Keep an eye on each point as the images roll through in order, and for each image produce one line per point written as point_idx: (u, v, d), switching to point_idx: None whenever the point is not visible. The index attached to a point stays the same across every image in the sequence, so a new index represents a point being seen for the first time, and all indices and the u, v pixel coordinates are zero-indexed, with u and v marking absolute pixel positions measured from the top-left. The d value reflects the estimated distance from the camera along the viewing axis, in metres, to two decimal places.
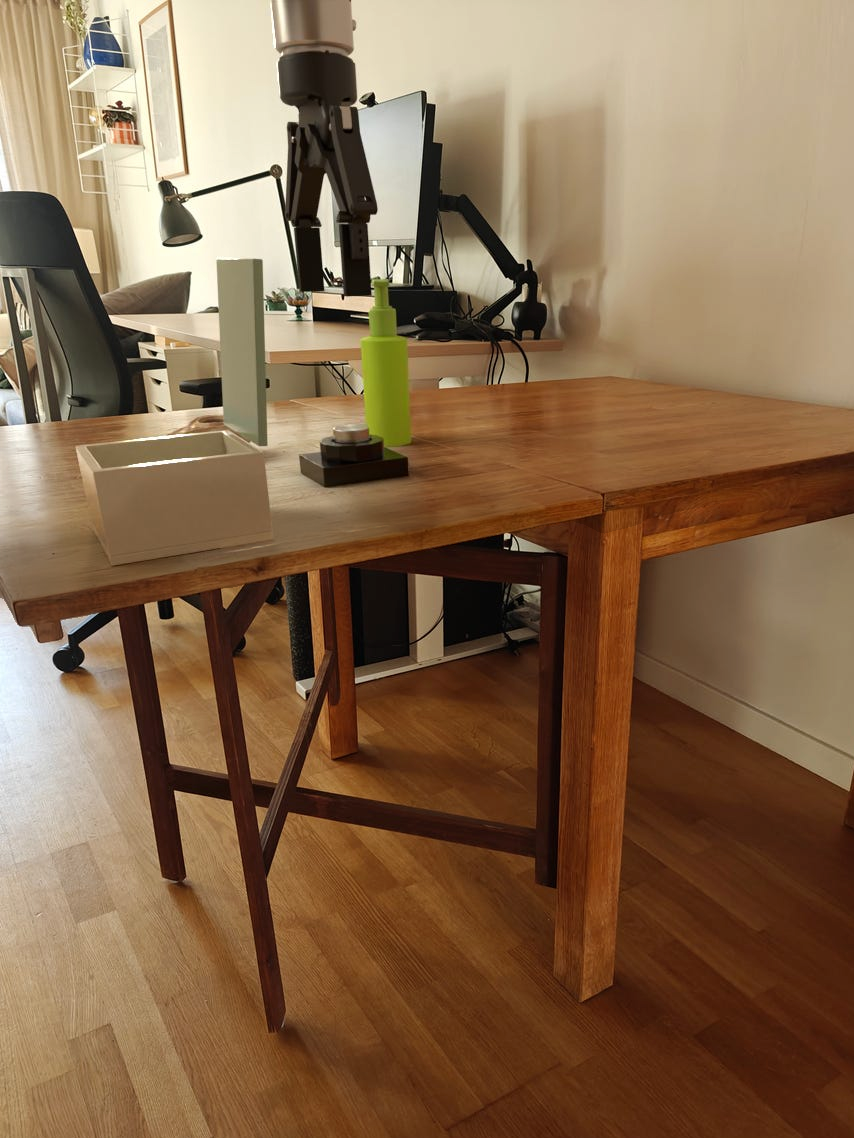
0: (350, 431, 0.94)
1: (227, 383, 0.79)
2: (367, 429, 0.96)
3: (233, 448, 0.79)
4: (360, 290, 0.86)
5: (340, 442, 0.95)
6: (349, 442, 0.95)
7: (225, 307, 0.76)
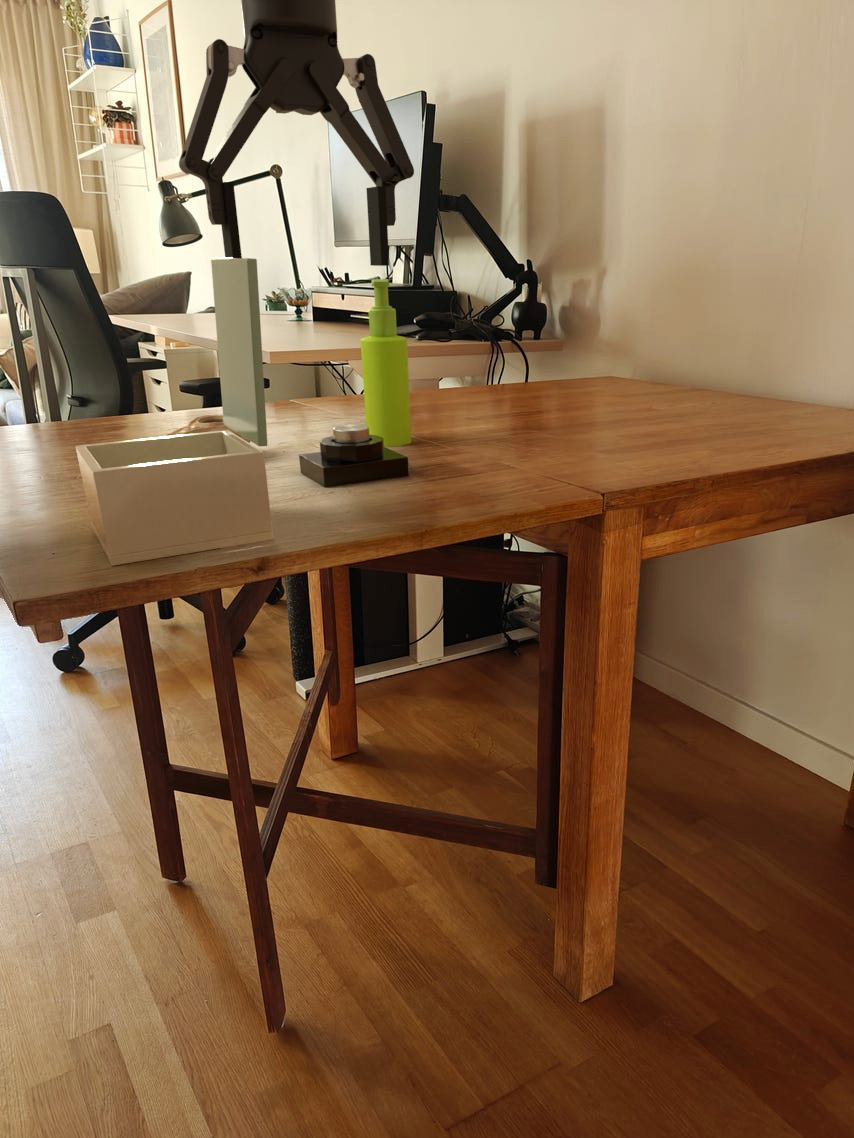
0: (350, 431, 0.94)
1: (226, 383, 0.79)
2: (367, 429, 0.96)
3: (233, 448, 0.79)
4: None
5: (340, 442, 0.95)
6: (349, 442, 0.95)
7: (221, 307, 0.76)
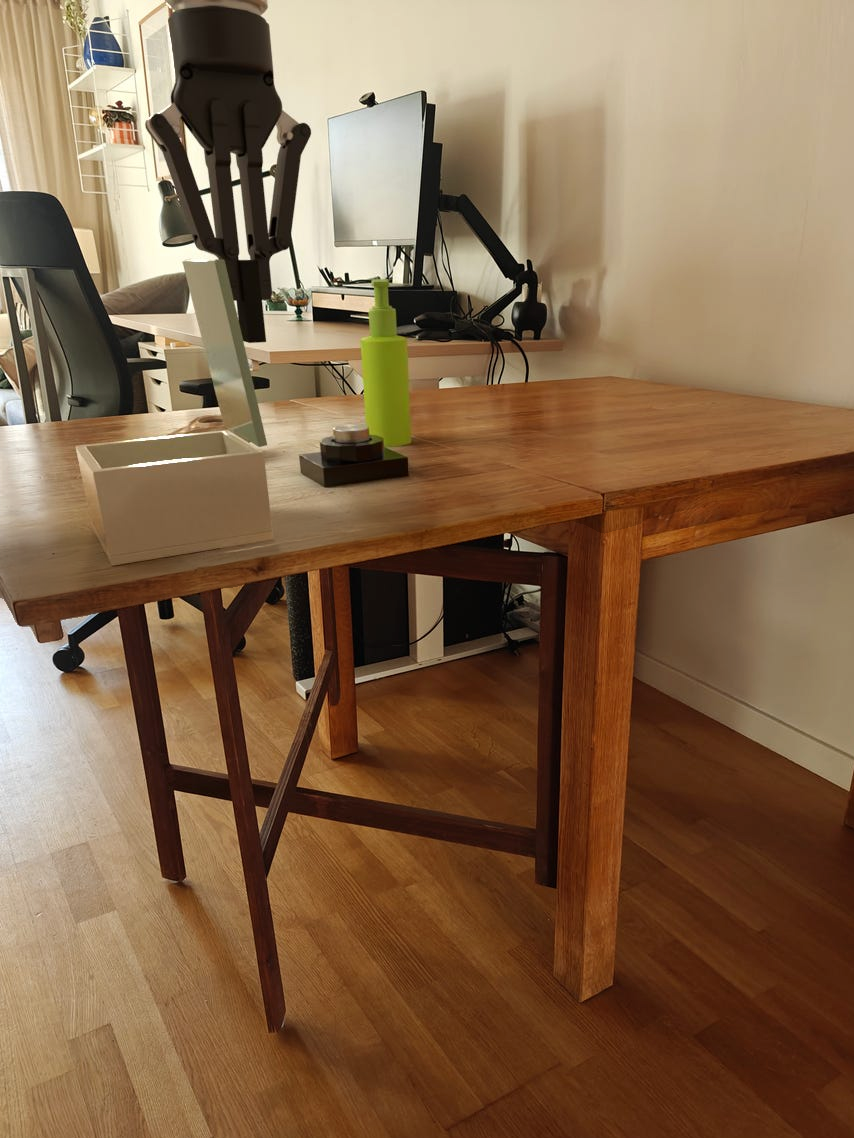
0: (350, 431, 0.94)
1: (218, 385, 0.79)
2: (367, 429, 0.96)
3: (233, 448, 0.79)
4: None
5: (340, 442, 0.95)
6: (349, 442, 0.95)
7: (200, 309, 0.75)
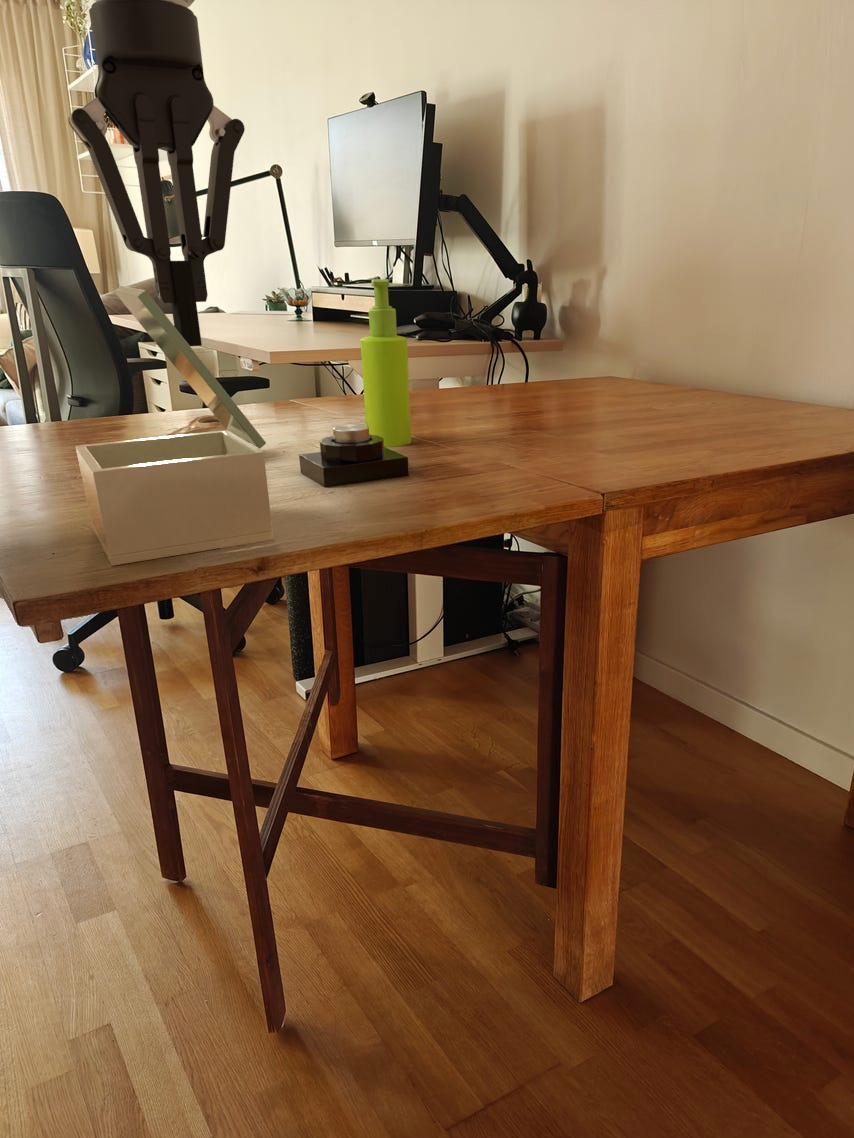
0: (350, 431, 0.94)
1: (201, 395, 0.78)
2: (367, 429, 0.96)
3: (233, 448, 0.79)
4: None
5: (340, 442, 0.95)
6: (349, 442, 0.95)
7: (151, 333, 0.74)
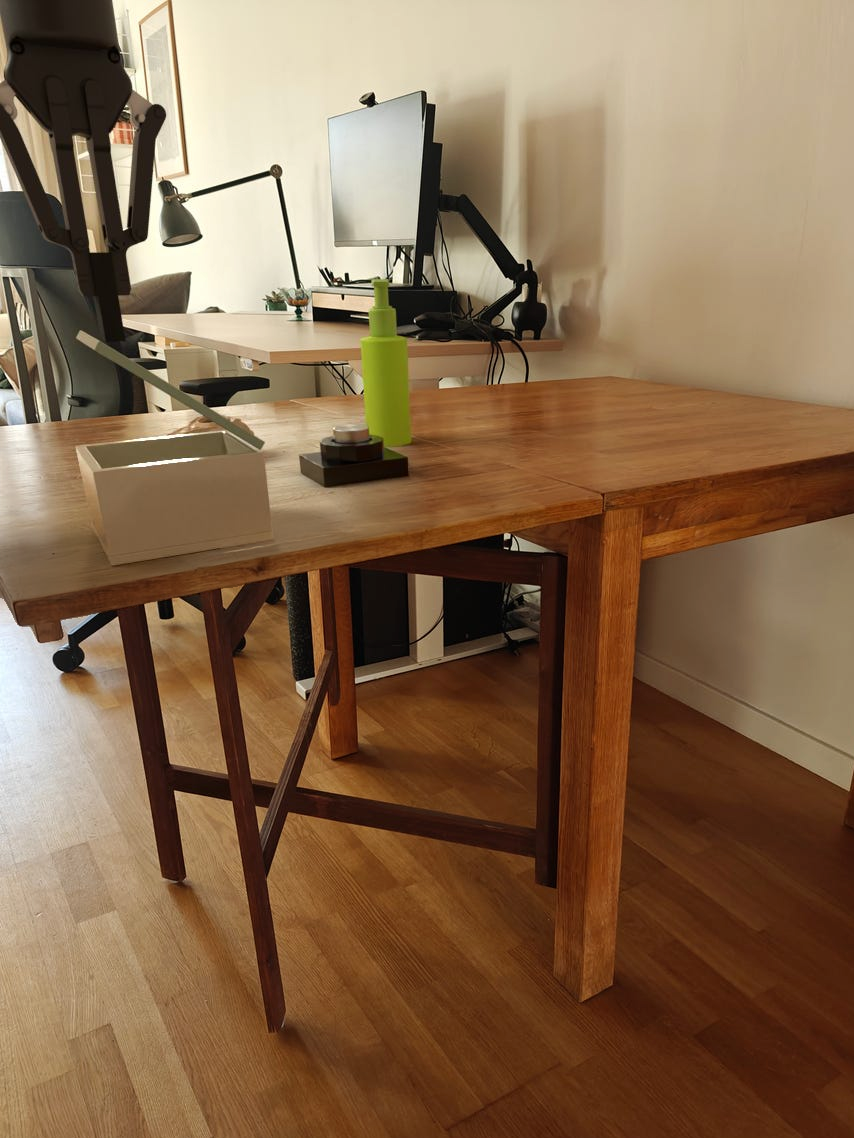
0: (350, 431, 0.94)
1: None
2: (367, 429, 0.96)
3: (233, 448, 0.79)
4: None
5: (340, 442, 0.95)
6: (349, 442, 0.95)
7: None
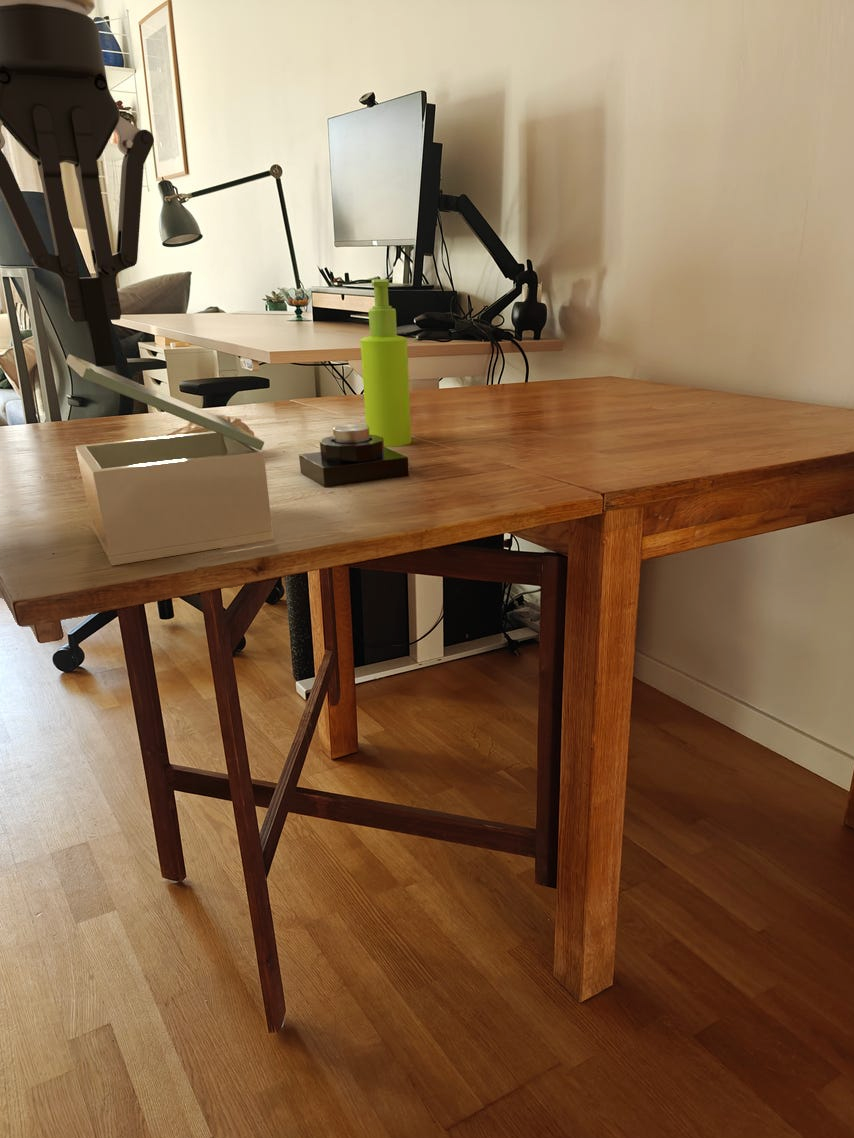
0: (350, 431, 0.94)
1: None
2: (367, 429, 0.96)
3: (233, 448, 0.79)
4: None
5: (340, 442, 0.95)
6: (349, 442, 0.95)
7: None
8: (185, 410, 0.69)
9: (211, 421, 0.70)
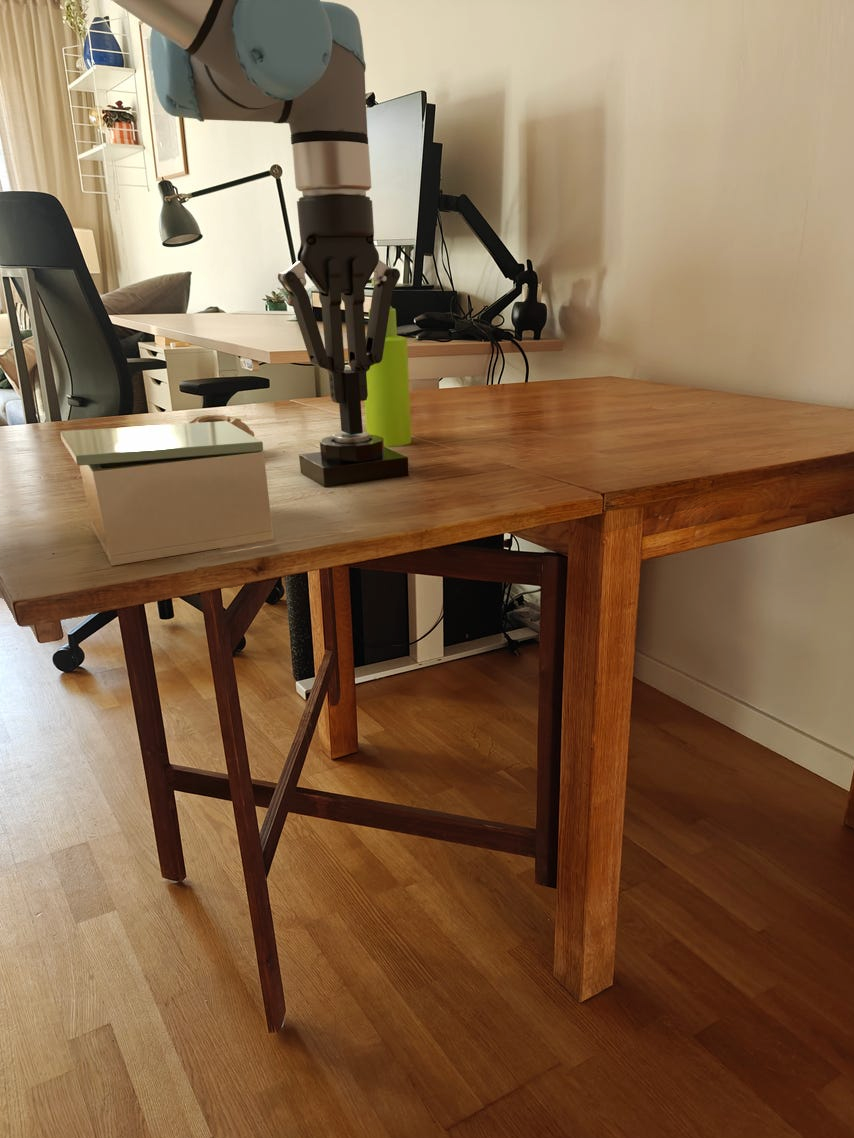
0: (351, 438, 0.95)
1: None
2: (367, 436, 0.96)
3: None
4: None
5: None
6: None
7: None
8: (179, 449, 0.70)
9: (206, 447, 0.71)
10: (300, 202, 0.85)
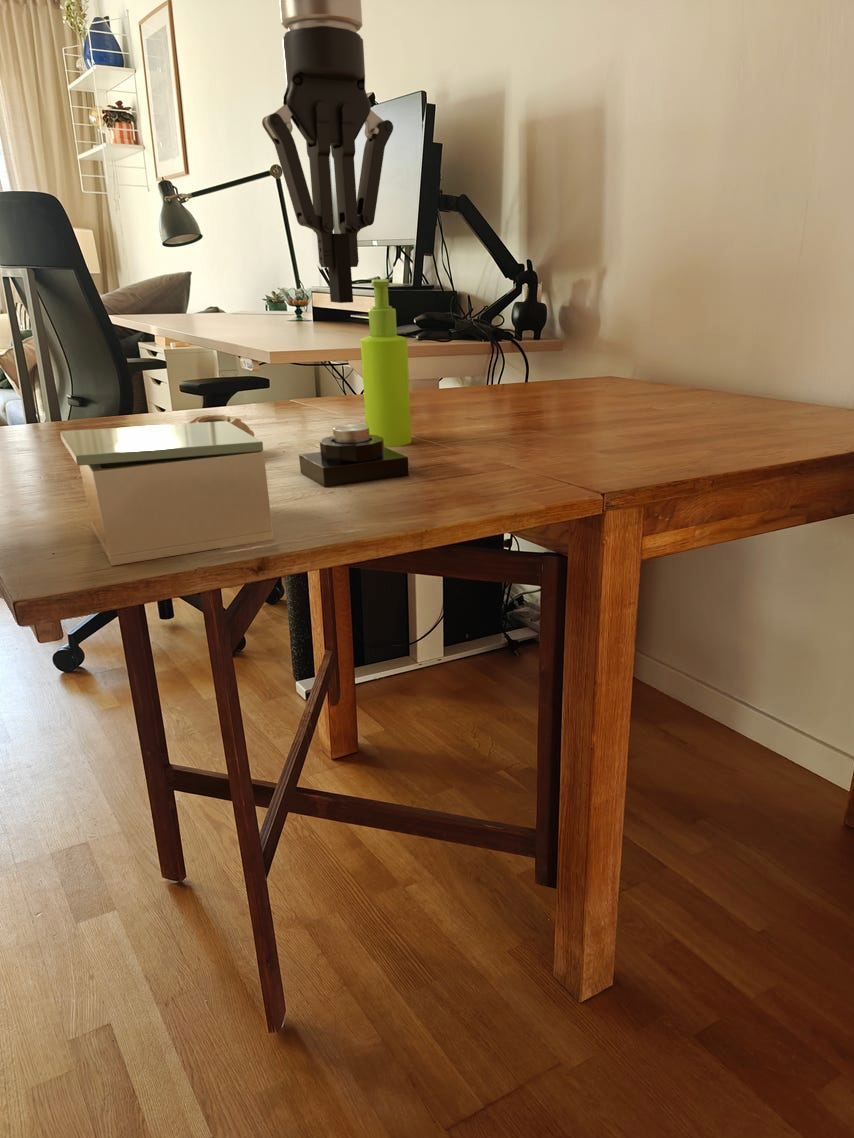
0: (350, 431, 0.94)
1: None
2: (367, 429, 0.96)
3: None
4: None
5: (340, 442, 0.95)
6: (349, 442, 0.95)
7: None
8: (179, 449, 0.70)
9: (206, 447, 0.71)
10: (286, 37, 0.79)
